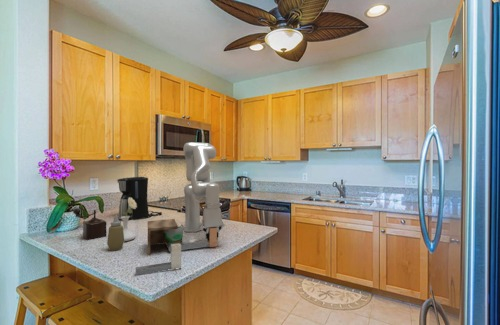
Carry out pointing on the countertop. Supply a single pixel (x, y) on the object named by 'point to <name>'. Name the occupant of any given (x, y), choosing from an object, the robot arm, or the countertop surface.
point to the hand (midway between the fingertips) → (212, 239)
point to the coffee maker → (134, 197)
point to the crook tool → (210, 243)
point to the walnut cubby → (159, 231)
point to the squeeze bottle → (115, 235)
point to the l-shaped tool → (164, 266)
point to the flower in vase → (127, 233)
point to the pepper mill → (92, 226)
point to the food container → (174, 235)
